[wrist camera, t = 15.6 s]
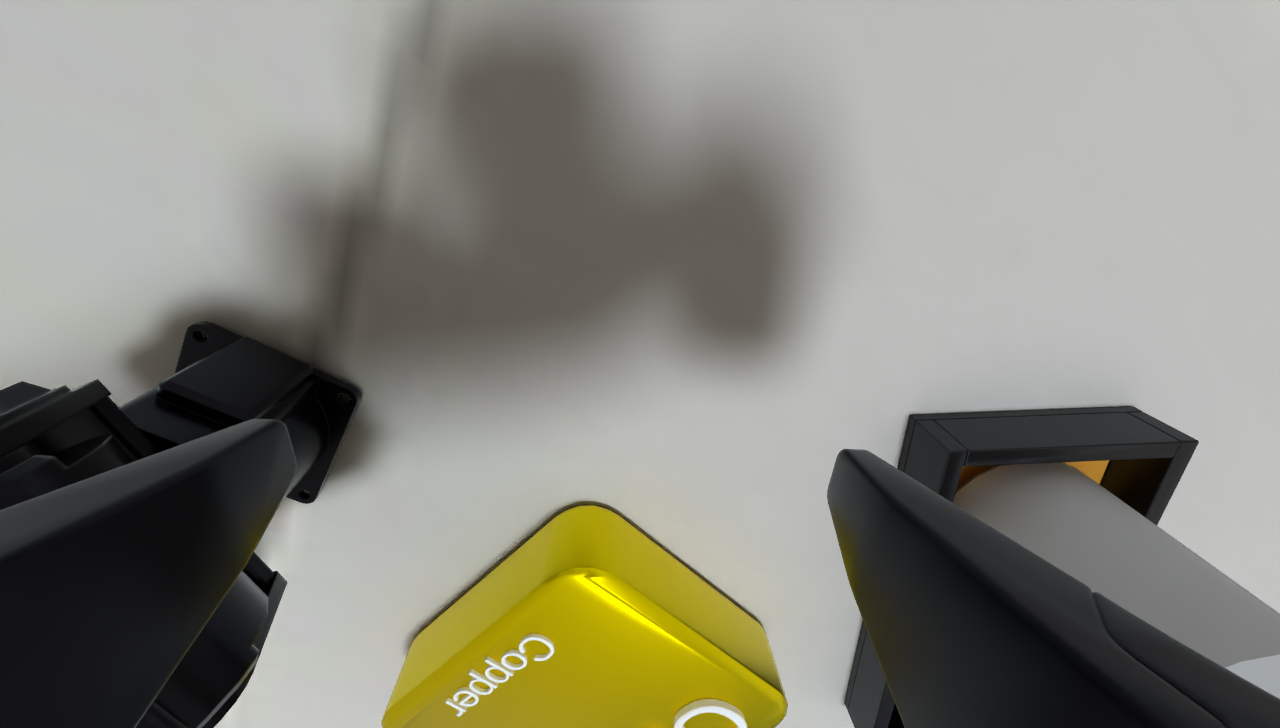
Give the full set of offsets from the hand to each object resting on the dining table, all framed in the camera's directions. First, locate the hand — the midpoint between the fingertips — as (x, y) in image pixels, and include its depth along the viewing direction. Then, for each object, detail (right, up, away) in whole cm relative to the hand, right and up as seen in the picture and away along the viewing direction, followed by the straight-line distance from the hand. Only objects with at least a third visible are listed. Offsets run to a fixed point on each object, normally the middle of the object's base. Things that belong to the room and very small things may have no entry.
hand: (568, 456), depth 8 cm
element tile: (-1, -14, +20) cm, 24 cm away
